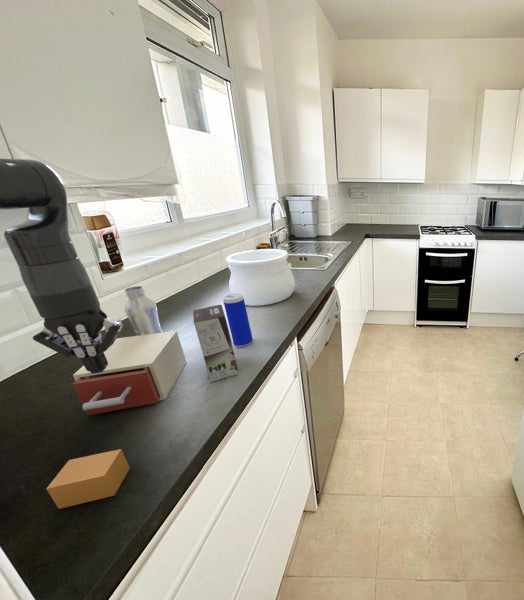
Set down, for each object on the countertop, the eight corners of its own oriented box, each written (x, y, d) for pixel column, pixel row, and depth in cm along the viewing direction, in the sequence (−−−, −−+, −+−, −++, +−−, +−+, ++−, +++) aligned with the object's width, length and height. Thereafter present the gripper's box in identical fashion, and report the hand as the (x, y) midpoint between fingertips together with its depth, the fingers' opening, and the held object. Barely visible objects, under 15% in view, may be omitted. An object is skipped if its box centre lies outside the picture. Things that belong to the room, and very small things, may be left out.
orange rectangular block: (58, 509, 47) (45, 488, 45) (79, 479, 52) (68, 459, 50) (114, 495, 49) (104, 475, 47) (130, 467, 53) (121, 448, 52)
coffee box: (239, 374, 78) (225, 316, 72) (210, 382, 75) (192, 322, 69) (235, 357, 85) (222, 303, 79) (208, 364, 82) (192, 309, 76)
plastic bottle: (140, 356, 87) (115, 288, 79) (170, 347, 91) (148, 282, 83) (143, 365, 82) (117, 295, 75) (174, 356, 86) (151, 288, 79)
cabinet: (165, 399, 70) (151, 363, 66) (90, 413, 66) (72, 375, 62) (186, 362, 84) (176, 330, 80) (126, 371, 80) (112, 338, 76)
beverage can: (256, 340, 94) (247, 293, 89) (245, 348, 90) (234, 300, 84) (242, 338, 95) (231, 292, 90) (230, 346, 91) (218, 299, 85)
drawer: (148, 418, 63) (135, 386, 60) (72, 433, 60) (54, 400, 57) (179, 366, 80) (170, 339, 77) (121, 375, 77) (110, 347, 74)
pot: (308, 288, 137) (303, 248, 130) (278, 310, 115) (270, 264, 108) (254, 285, 141) (247, 247, 135) (216, 306, 119) (204, 261, 112)
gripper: (118, 275, 59) (147, 354, 65) (28, 283, 55) (69, 366, 61) (95, 288, 52) (131, 375, 58) (-9, 298, 48) (41, 389, 55)
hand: (99, 370), depth 60 cm, fingers closed
